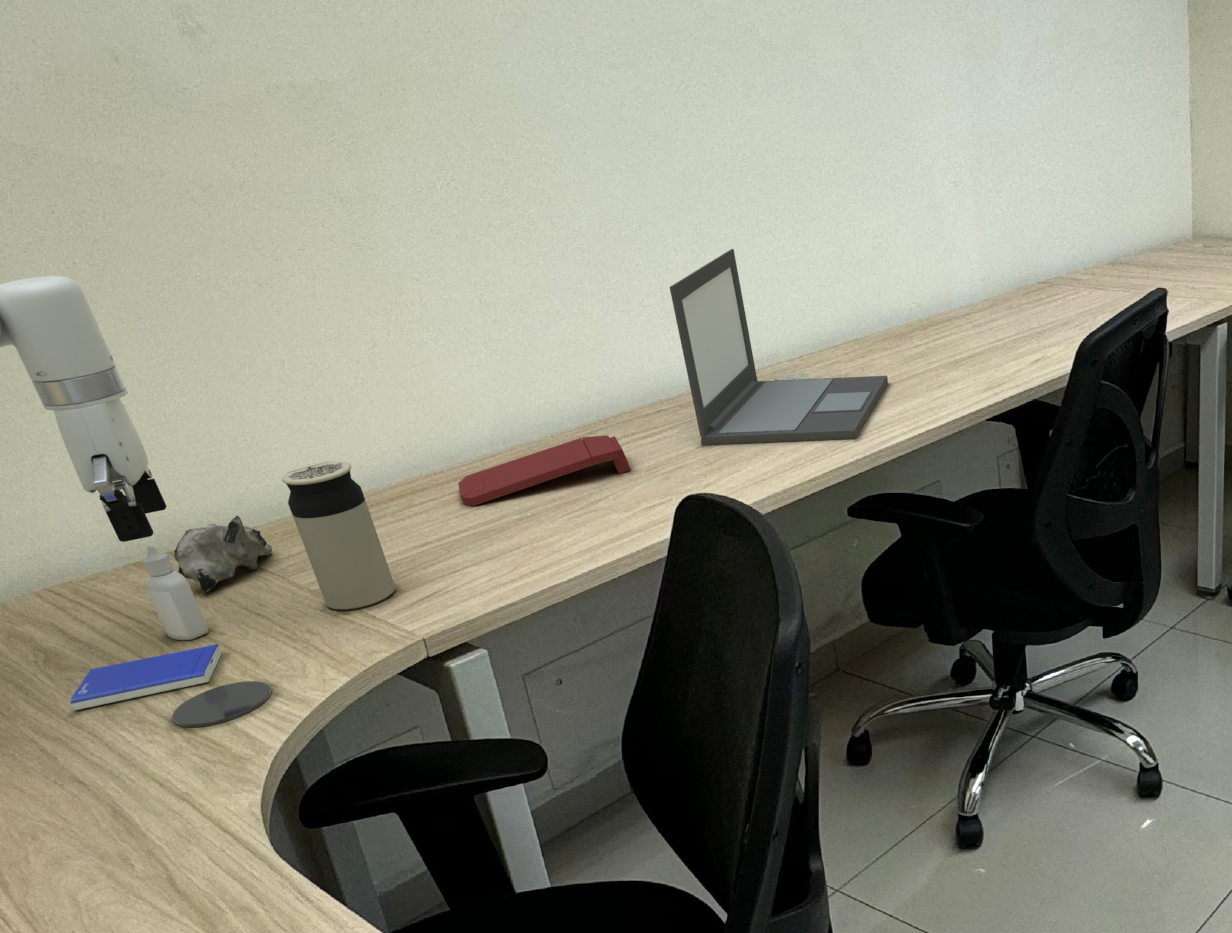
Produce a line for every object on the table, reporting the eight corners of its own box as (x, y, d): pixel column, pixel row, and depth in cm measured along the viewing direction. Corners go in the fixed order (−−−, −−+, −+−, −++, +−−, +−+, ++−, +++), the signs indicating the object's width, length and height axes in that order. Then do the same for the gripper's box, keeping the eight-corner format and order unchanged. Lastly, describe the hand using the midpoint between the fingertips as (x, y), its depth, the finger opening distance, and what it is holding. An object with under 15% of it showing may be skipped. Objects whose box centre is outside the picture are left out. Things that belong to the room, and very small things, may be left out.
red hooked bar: (475, 528, 182) (633, 473, 191) (461, 501, 179) (621, 446, 188) (470, 504, 191) (621, 453, 200) (457, 478, 189) (610, 427, 198)
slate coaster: (167, 736, 122) (166, 733, 122) (180, 699, 130) (178, 696, 129) (267, 711, 126) (266, 708, 126) (274, 676, 134) (273, 673, 133)
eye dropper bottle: (166, 647, 141) (126, 559, 136) (167, 630, 145) (128, 544, 140) (209, 636, 143) (172, 549, 138) (209, 620, 148) (172, 535, 142)
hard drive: (68, 700, 127) (202, 672, 132) (90, 667, 134) (217, 641, 139) (74, 712, 128) (208, 683, 132) (96, 679, 134) (222, 653, 139)
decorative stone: (199, 554, 165) (193, 490, 161) (277, 556, 169) (272, 493, 165) (167, 603, 152) (159, 534, 148) (252, 604, 156) (246, 537, 152)
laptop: (855, 439, 203) (832, 279, 191) (700, 446, 203) (667, 286, 191) (888, 383, 235) (869, 242, 223) (753, 389, 235) (728, 249, 223)
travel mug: (403, 596, 152) (359, 469, 144) (334, 617, 147) (285, 487, 139) (387, 579, 157) (345, 455, 149) (321, 598, 152) (273, 471, 144)
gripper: (57, 377, 136) (119, 509, 143) (19, 413, 122) (90, 557, 130) (135, 365, 139) (192, 495, 147) (107, 399, 126) (171, 541, 133)
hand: (144, 524), depth 138 cm, fingers open, 9 cm apart
